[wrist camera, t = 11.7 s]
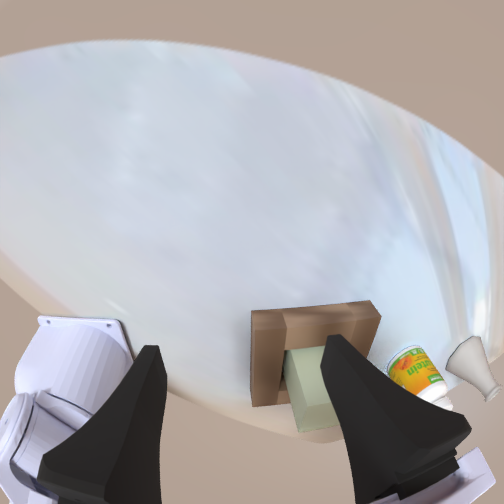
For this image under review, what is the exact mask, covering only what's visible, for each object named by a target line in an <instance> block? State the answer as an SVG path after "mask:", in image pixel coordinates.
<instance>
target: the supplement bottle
mask: <svg viewBox="0 0 504 504" xmlns="http://www.w3.org/2000/svg"><path fill="white" fill-rule="evenodd" d="M387 371H388V374H389V376H390V378H391V380H393V381H394V382H395V383H397V384H398V385H400V386H401V387H403V388H404V389H406V390H407V391H409V392H411V393H412V394H414V395H416V396H418V397H420V398H422V399H423V400H425V401H428V402H430V403H432V404H434V405H436V406H439V407H441V408H444V409H446V410H450V411H451V410H452V408H453V404H452V403H451V401H450V399H449V398H448V397H445V395H446V393H447V389H448V387H447V384H446V382H445V381H444V379H443V378H442V376H441V375H440V373H439V372H438V370H437V369H436V367H435V366H434V365H433V363H432V362H431V360H430V359H429V357H428V356H427V355H426V353H425V352H424V350H423V349H422V348H421V347H420V346H410V347H408V348H406V349H404V350H402V351H401V352H399V353H398V354H397V355H396V356H395V357H394V358H393V359H392V360H391V362H390V363H389V365H388V369H387Z"/></svg>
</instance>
